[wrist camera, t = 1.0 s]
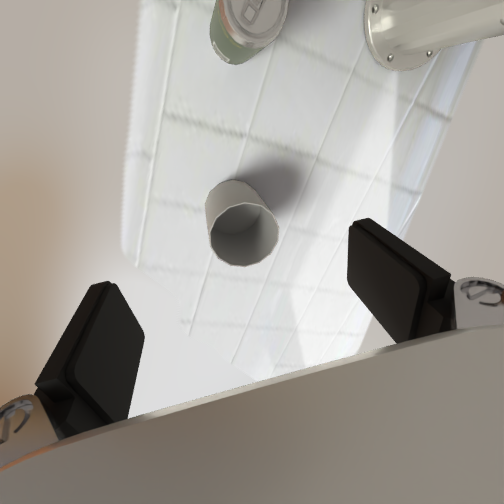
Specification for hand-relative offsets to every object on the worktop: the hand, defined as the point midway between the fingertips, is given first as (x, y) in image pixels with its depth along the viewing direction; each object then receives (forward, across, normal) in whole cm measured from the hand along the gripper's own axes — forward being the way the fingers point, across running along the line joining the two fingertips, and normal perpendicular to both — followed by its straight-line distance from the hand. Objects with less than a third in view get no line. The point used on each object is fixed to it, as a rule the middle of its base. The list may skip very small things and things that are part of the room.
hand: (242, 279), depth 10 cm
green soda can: (+29, -6, -12) cm, 32 cm away
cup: (+29, -1, +8) cm, 30 cm away
